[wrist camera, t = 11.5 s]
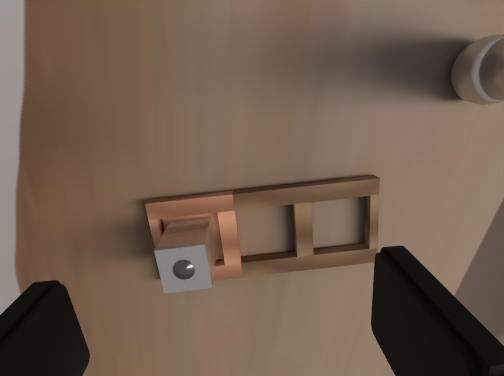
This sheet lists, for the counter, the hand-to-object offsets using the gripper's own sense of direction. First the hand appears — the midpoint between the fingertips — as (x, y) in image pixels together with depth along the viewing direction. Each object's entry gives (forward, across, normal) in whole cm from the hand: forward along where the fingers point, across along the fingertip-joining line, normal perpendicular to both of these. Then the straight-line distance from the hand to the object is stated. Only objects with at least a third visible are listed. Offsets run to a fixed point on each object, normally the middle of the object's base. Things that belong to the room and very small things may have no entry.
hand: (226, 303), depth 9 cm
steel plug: (+26, +6, +11) cm, 29 cm away
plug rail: (+26, -3, +11) cm, 28 cm away
